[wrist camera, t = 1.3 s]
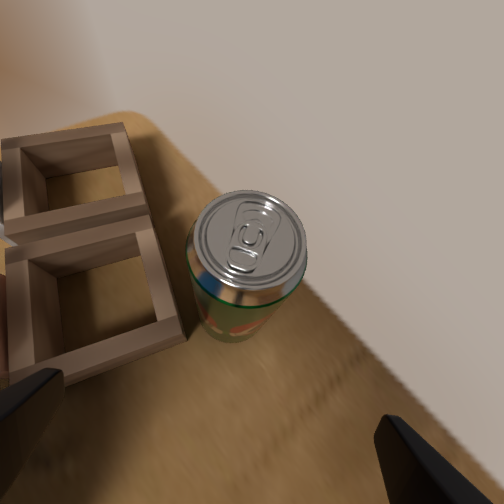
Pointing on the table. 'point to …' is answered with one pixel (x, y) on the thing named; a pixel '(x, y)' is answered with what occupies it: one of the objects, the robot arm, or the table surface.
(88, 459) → the table surface
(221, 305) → the soda can
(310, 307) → the table surface
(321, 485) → the table surface
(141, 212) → the socket block
